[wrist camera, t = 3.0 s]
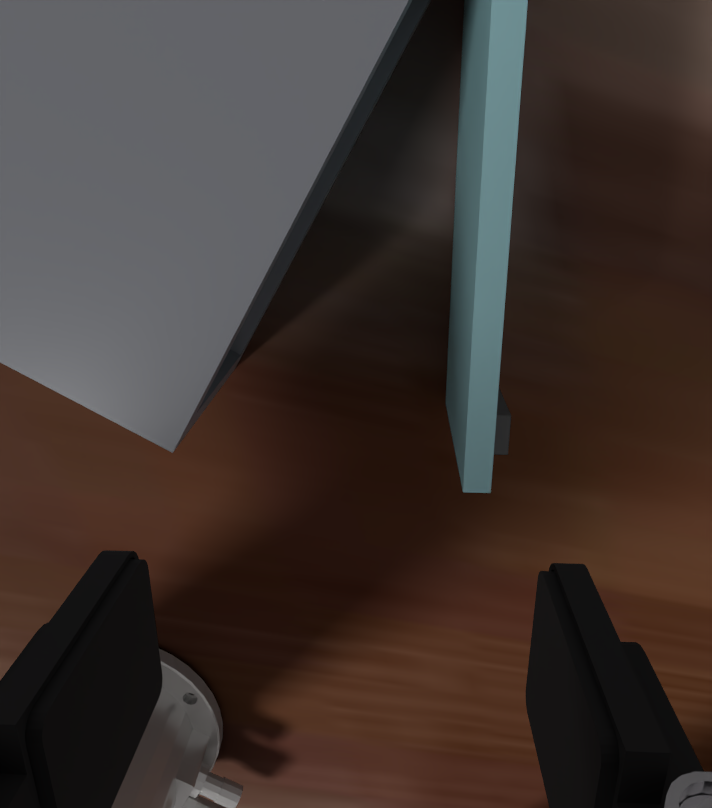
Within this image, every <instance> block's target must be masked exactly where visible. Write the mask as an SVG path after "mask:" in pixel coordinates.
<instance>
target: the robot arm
mask: <svg viewBox="0 0 712 808" xmlns="http://www.w3.org/2000/svg"><path fill="white" fill-rule="evenodd" d="M526 706H527V713H528V717H529V721H530V726H531V730H532V734H533V739H534V743H535V747H536V751H537V756H538V760H539V764H540V769H541V773H542V777H543V781H544V786H545V790H546V794H547V799H548V803H549V807H550V808H712V772H704V771H703V769H702V767H701V765H700V763H699V761H698V759H697V757H696V755H695V753H694V751H693V749H692V746H691V744H690V742H689V740H688V738H687V736H686V734H685V732H684V730H683V728H682V726H681V724H680V722H679V720H678V718H677V716H676V714H675V712H674V710H673V708H672V706H671V704H670V702H669V700H668V698H667V696H666V694H665V692H664V690H663V688H662V686H661V684H660V682H659V680H658V678H657V676H656V674H655V672H654V670H653V668H652V666H651V664H650V662H649V660H648V658H647V656H646V654H645V652H644V650H643V649H642V647H641V645H639V644H638V643H636V642H620V640H619V637H618V635H617V633H616V631H615V629H614V626H613V624H612V622H611V620H610V618H609V615H608V613H607V611H606V609H605V607H604V604H603V602H602V600H601V598H600V596H599V594H598V591H597V589H596V587H595V585H594V583H593V580H592V578H591V576H590V574H589V572H588V569H587V568H586V566H585V565H584V564H563V563H552V564H551V565H550V568H549V571H540V572H539V575H538V582H537V592H536V601H535V610H534V620H533V629H532V638H531V647H530V657H529V666H528V675H527V684H526ZM222 739H223V722H222V717H221V713H220V708H219V706H218V704H217V702H216V700H215V697H214V695H213V693H212V692H211V691H210V689H209V688H208V686H207V685H206V684H205V682H204V681H203V680H202V678H200V677H199V676H198V675H197V674H196V673H195V672H194V671H193V670H192V669H191V668H190V667H189V666H188V665H186V664H185V663H183V662H182V661H180V660H179V659H177V658H176V657H175V656H173V655H171V654H169V653H167V652H165V651H163V650H161V649H159V646H158V638H157V631H156V623H155V616H154V608H153V601H152V593H151V586H150V578H149V571H148V565H147V562H146V561H145V560H139V559H138V556H137V554H136V552H134V551H102V552H101V553H100V554H99V555H98V557H97V558H96V559H95V561H94V562H93V563H92V565H91V566H90V567H89V569H88V570H87V572H86V573H85V574H84V576H83V577H82V578H81V580H80V581H79V582H78V584H77V585H76V586H75V588H74V589H73V591H72V592H71V593H70V595H69V596H68V597H67V599H66V600H65V601H64V603H63V604H62V605H61V607H60V608H59V610H58V611H57V612H56V614H55V615H54V616H53V618H52V619H51V620H50V622H49V623H47V624H44V625H43V626H42V627H41V628H40V629H39V630H38V631H37V632H36V634H35V635H34V636H33V638H32V639H31V640H30V642H29V643H28V644H27V646H26V647H25V648H24V650H23V651H22V652H21V654H20V655H19V656H18V658H17V659H16V660H15V662H14V663H13V665H12V666H11V667H10V669H9V670H8V671H7V673H6V674H5V675H4V677H3V678H2V679H1V681H0V808H235V807H236V806H237V804H238V802H239V800H240V797H241V794H242V791H243V786H242V785H240V784H238V783H236V782H234V781H232V780H229V779H227V778H225V777H223V778H222V777H220V776H218V775H216V774H213V773H211V772H210V771H211V770H212V768H213V766H214V764H215V762H216V759H217V757H218V754H219V750H220V746H221V742H222ZM199 794H201V795H203V796H205V797H207V798H210V799H212V800H213V801H214V802H212V801H210V800H208V799H206V798H204V797H201V796H199Z"/></svg>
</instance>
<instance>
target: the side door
mask: <svg viewBox="0 0 712 808" xmlns="http://www.w3.org/2000/svg"><path fill="white" fill-rule="evenodd" d="M527 5H528V0H464V17H463V38H462V60H461V81H460V103H459V125H458V146H457V168H456V189H455V211H454V233H453V254H452V276H451V297H450V319H449V341H448V362H447V384H446V408H447V413H448V418H449V424H450V429H451V434H452V439H453V444H454V449H455V454H456V459H457V465H458V470H459V475H460V480H461V485H462V490H463V492H469V493H491V483H492V469H493V456H494V454H495V455H508V447H509V435H510V423H511V414H510V412H509V410H508V407H507V405H506V403H505V400H504V398H503V396H502V393H501V391H500V389H499V376H500V363H501V350H502V337H503V323H504V310H505V297H506V283H507V270H508V257H509V244H510V230H511V217H512V204H513V190H514V177H515V164H516V151H517V137H518V124H519V111H520V98H521V84H522V71H523V58H524V44H525V31H526V18H527Z"/></svg>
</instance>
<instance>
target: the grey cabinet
mask: <svg viewBox="0 0 712 808" xmlns="http://www.w3.org/2000/svg"><path fill="white" fill-rule="evenodd" d="M430 2H431V0H0V362H1V363H2V364H4V365H6V366H8V367H10V368H12V369H14V370H16V371H18V372H20V373H22V374H23V375H25V376H27V377H29V378H31V379H33V380H35V381H37V382H39V383H41V384H43V385H44V386H46V387H48V388H50V389H52V390H54V391H56V392H58V393H60V394H62V395H63V396H65V397H67V398H69V399H71V400H73V401H75V402H77V403H79V404H81V405H83V406H84V407H86V408H88V409H90V410H92V411H94V412H96V413H98V414H100V415H102V416H104V417H105V418H107V419H109V420H111V421H113V422H115V423H117V424H119V425H121V426H123V427H125V428H126V429H128V430H130V431H132V432H134V433H136V434H138V435H140V436H142V437H144V438H145V439H147V440H149V441H151V442H153V443H155V444H157V445H159V446H161V447H163V448H165V449H166V450H168V451H170V452H172V453H173V452H174V451H175V449H176V448H177V446H178V445H179V444H180V442H181V441H182V440H183V438H184V437H185V436H186V434H187V433H188V432H189V430H190V429H191V428H192V426H193V425H194V424H195V422H196V421H197V419H198V418H199V417H200V415H201V414H202V413H203V411H204V410H205V409H206V407H207V406H208V405H209V403H210V402H211V401H212V399H213V398H214V396H215V395H216V394H217V392H218V391H219V390H220V388H221V387H222V386H223V384H224V383H225V382H226V380H227V379H228V378H229V376H230V375H231V374H232V372H233V371H234V369H235V368H236V366H237V364H238V362H239V361H240V359H241V357H242V355H243V353H244V351H245V349H246V347H247V345H248V344H249V342H250V340H251V338H252V336H253V334H254V332H255V330H256V329H257V327H258V325H259V323H260V321H261V319H262V317H263V315H264V314H265V312H266V310H267V308H268V306H269V304H270V302H271V300H272V299H273V297H274V295H275V293H276V291H277V289H278V287H279V285H280V284H281V282H282V280H283V278H284V276H285V274H286V272H287V270H288V269H289V267H290V265H291V263H292V261H293V259H294V257H295V255H296V253H297V252H298V250H299V248H300V246H301V244H302V242H303V240H304V238H305V237H306V235H307V233H308V231H309V229H310V227H311V225H312V223H313V222H314V220H315V218H316V216H317V214H318V212H319V210H320V208H321V207H322V205H323V203H324V201H325V199H326V197H327V195H328V193H329V192H330V190H331V188H332V186H333V184H334V182H335V180H336V178H337V176H338V175H339V173H340V171H341V169H342V167H343V165H344V163H345V161H346V160H347V158H348V156H349V154H350V152H351V150H352V148H353V146H354V145H355V143H356V141H357V139H358V137H359V135H360V133H361V131H362V130H363V128H364V126H365V124H366V122H367V120H368V118H369V116H370V115H371V113H372V111H373V109H374V107H375V105H376V103H377V101H378V99H379V98H380V96H381V94H382V92H383V90H384V88H385V86H386V84H387V83H388V81H389V79H390V77H391V75H392V73H393V71H394V69H395V68H396V66H397V64H398V62H399V60H400V58H401V56H402V54H403V53H404V51H405V49H406V47H407V45H408V43H409V41H410V39H411V38H412V36H413V34H414V32H415V30H416V28H417V26H418V24H419V22H420V21H421V19H422V17H423V15H424V13H425V11H426V9H427V7H428V6H429V4H430Z"/></svg>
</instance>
